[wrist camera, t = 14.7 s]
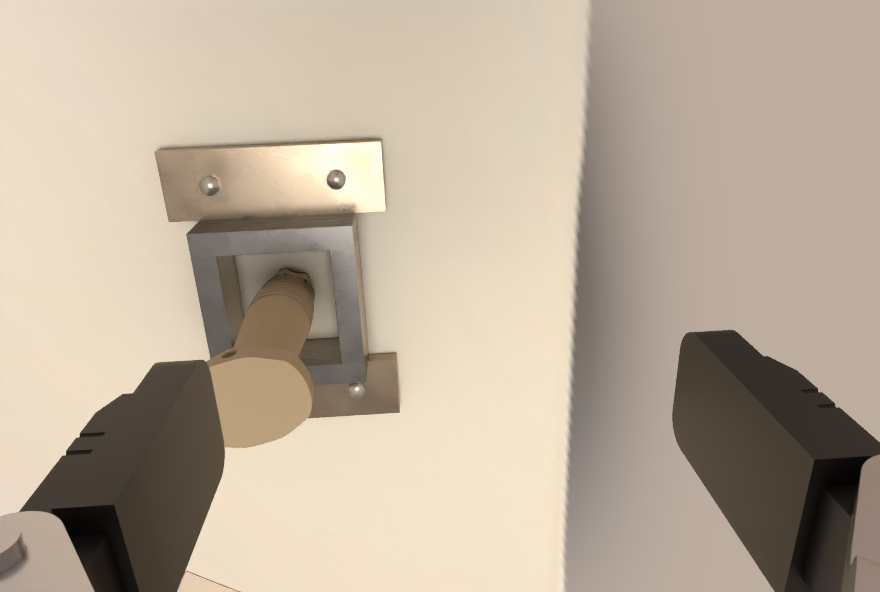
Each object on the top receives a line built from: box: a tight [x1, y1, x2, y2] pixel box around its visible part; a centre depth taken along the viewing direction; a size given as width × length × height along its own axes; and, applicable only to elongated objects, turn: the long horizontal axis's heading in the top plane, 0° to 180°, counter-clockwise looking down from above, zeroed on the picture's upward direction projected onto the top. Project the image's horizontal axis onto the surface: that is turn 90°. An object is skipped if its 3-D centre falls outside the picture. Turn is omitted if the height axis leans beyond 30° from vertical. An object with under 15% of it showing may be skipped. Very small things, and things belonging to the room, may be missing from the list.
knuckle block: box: [155, 139, 400, 418], centre depth 44 cm, size 20×14×4 cm
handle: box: [206, 269, 315, 448], centre depth 39 cm, size 5×6×15 cm
